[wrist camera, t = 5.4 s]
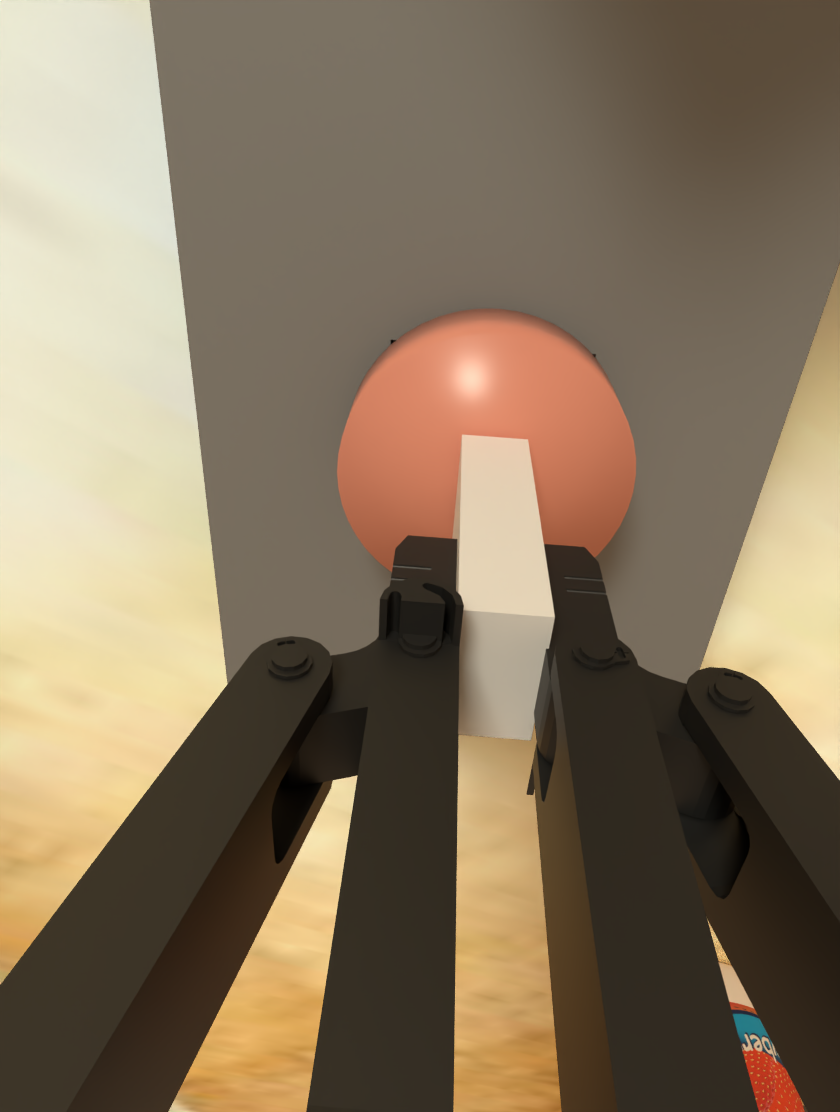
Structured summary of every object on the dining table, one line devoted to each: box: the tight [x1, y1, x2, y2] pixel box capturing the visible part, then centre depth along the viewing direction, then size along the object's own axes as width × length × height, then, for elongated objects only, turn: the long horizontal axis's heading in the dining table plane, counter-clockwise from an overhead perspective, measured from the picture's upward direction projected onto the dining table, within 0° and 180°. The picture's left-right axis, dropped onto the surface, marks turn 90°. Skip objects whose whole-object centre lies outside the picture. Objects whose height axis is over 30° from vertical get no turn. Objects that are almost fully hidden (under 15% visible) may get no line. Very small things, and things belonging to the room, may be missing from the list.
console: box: [150, 0, 840, 684], centre depth 22 cm, size 15×20×6 cm
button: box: [337, 309, 636, 572], centre depth 21 cm, size 7×7×8 cm
